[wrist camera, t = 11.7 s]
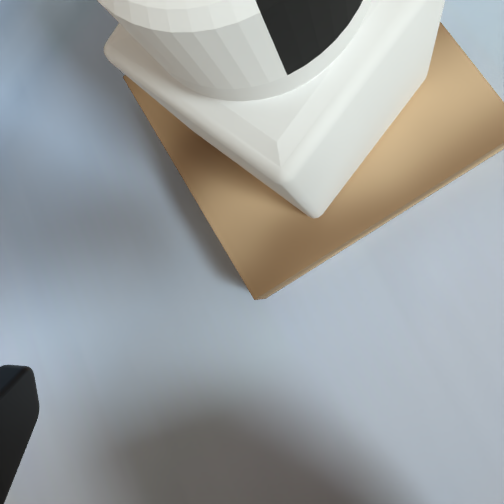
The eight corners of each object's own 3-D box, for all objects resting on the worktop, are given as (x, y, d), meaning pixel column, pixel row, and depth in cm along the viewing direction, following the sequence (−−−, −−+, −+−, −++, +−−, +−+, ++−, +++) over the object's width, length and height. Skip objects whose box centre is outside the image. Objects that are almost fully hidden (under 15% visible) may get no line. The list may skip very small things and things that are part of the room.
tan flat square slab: (509, 145, 19) (524, 129, 17) (265, 298, 21) (254, 300, 19) (348, -64, 21) (345, -99, 19) (143, 93, 23) (122, 76, 22)
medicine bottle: (286, -10, 20) (159, -428, 8) (430, 75, 18) (526, -301, 6) (188, 128, 20) (-55, -74, 9) (317, 223, 19) (222, 124, 7)
